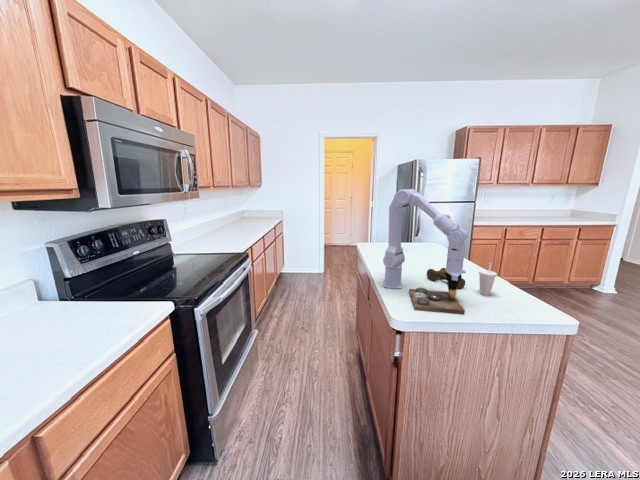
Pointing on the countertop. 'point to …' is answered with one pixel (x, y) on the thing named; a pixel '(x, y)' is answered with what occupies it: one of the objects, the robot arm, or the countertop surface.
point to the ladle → (438, 297)
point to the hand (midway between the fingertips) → (451, 291)
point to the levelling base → (434, 302)
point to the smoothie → (486, 281)
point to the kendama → (442, 276)
